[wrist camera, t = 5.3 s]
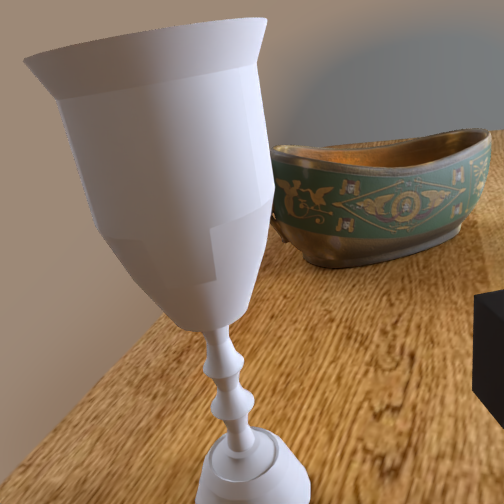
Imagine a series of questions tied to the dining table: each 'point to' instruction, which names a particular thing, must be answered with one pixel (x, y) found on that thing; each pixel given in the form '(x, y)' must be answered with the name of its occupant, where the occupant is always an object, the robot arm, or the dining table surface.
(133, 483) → the dining table surface
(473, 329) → the robot arm
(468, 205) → the cup
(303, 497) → the chalice
